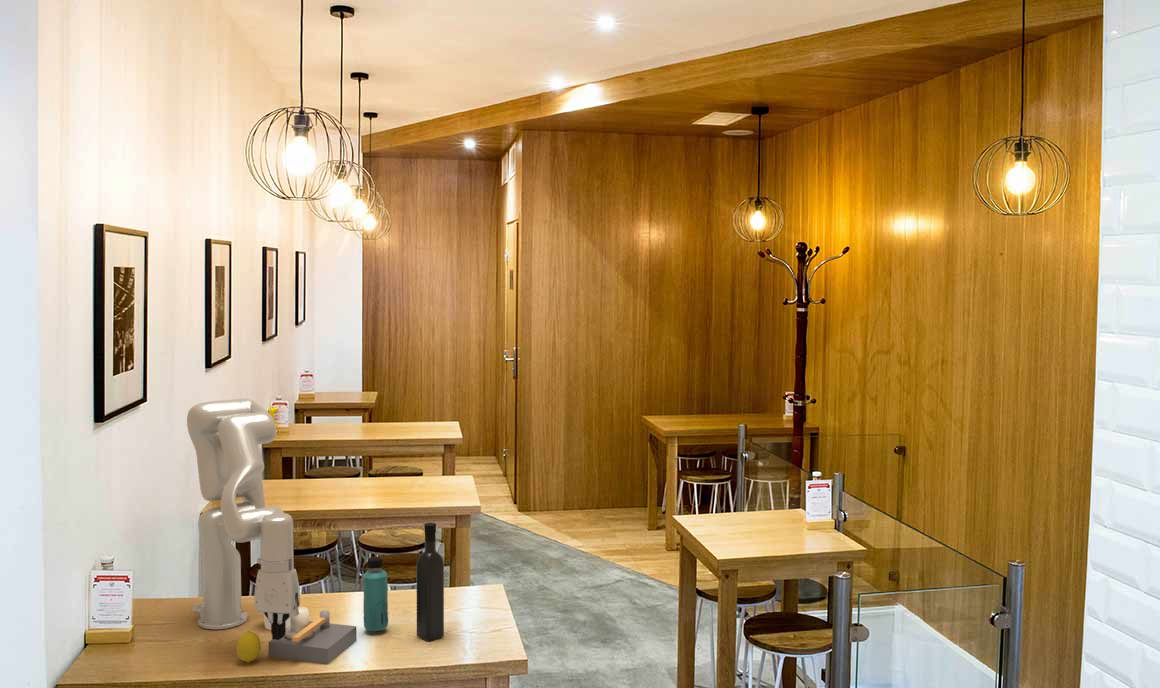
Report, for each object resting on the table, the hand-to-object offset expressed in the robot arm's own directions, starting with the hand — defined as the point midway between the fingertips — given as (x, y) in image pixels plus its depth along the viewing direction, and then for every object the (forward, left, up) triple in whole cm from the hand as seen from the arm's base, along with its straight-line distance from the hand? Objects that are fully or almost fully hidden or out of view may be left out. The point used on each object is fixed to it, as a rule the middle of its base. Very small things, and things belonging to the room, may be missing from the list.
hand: (278, 637), depth 231 cm
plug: (+2, +6, -5) cm, 8 cm away
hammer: (+6, +5, -1) cm, 8 cm away
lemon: (-5, -4, -5) cm, 9 cm away
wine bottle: (+30, +23, -5) cm, 38 cm away
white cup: (-12, +19, -5) cm, 22 cm away
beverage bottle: (+15, +22, -5) cm, 27 cm away
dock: (+5, +7, -5) cm, 10 cm away
